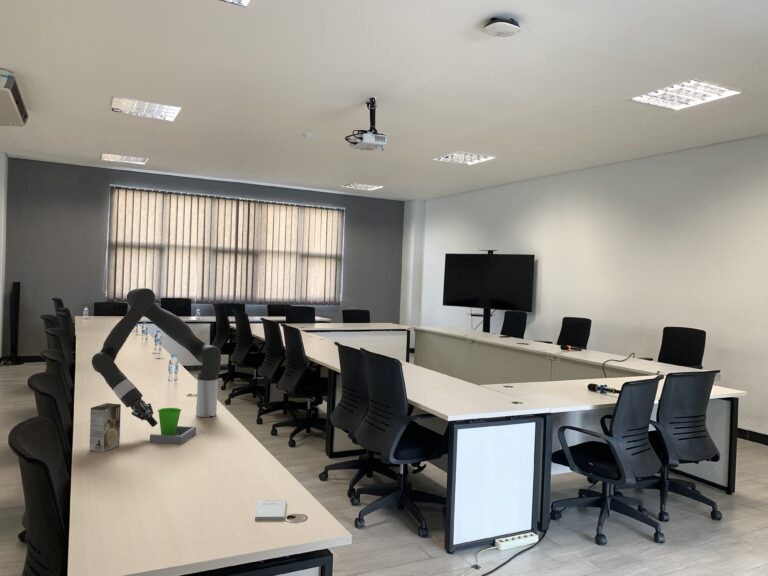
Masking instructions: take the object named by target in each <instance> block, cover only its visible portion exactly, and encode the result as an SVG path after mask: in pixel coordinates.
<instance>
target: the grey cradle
mask: <svg viewBox="0 0 768 576" xmlns="http://www.w3.org/2000/svg"><path fill="white" fill-rule="evenodd" d="M176 433H178V434H179V435H178V434H177V435H176V434H175V435H161V434H156V433H155V434H154V433H151V434H149V443H151V444H152V443H153V444H168V445H169V444H170V445H182V444H184V443H186V442H187V441H188V440H189V438H190V437H191V438H192V437H194V436H195V435H196V434H197V426H189V425H188V426H187V425H177V429H176ZM193 435H194V436H193ZM191 438H190V439H191Z"/></svg>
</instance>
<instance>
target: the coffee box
mask: <svg viewBox="0 0 768 576" xmlns="http://www.w3.org/2000/svg"><path fill="white" fill-rule="evenodd" d="M121 409H122V406H121V403H111V402H110V403H109V402H108V403H107V402H106V403H103V404H100V405H96V406H93V407H90V418H89V419H90V421H89V423H90V424H89V449H88V450H89V451H90V450H94V451H93V452H99V451H101V452H100V453H105V452H107V451H109V449H110V450H112V449H114V448H117V447H119V446H120V442H121V441H120V439H121V438H120V437H121ZM104 451H105V452H104Z"/></svg>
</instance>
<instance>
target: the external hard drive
mask: <svg viewBox="0 0 768 576" xmlns="http://www.w3.org/2000/svg"><path fill="white" fill-rule="evenodd" d="M256 506H257V508H256V510H255V515H254V521H285V519H286V513H287V512H286V511H287V500H286V499H259V500H258V502H257V505H256Z"/></svg>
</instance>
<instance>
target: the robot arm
mask: <svg viewBox="0 0 768 576" xmlns="http://www.w3.org/2000/svg"><path fill="white" fill-rule="evenodd" d="M155 301H156V294H155V292H154V291H153V290H152V289H150V288H149V287H139V288H135V289H134V288H133V289H132V290H130V291H129V292H128V293H127V294H126V303H127V305H128V306H129V307H130V308H129V310H128V311H127V312H126V313H125V315H124V316H123V317H122V318H121V319H120V320H119V321H118V323H116V324H115V325H114V327H113V328H112V329H111V330H110V332H109V333H108V335H107V336H106V339H105V340H104V342H103V344H102V348H101V349H100V351H99V352H97V353H95V354H94V355H93V356H92V358H91V366H92V368H93V370H94V371H95V372H97V373H98V374H100V375H101V376H102V377H103V379H104V380H105V382H106V384H107V385H108V386H109V388H111V390H112V391H113V393H114V394H115V396H116V397H117V398H118V399H119V400H120V401H121V403H122V404H123V405H124V406H125V407H126V408H130V409H131V410H132V411H131V412H130V413H131V415H132V416H133V417H135V418H137V419H139V420H141V421H146V422H147V423H148V424H149V425H150V426H151V428H154V427H155V426H156V425H158V423H159V422H158V421H157V420H156V419H155V418H154V416H153V415H154V410H153V407H152V404H151V403H150V402H149V403H146V402H145V400H143V399H142V398H143V394H142V393H141V391H140V390H139V389H138V388H137V386H135V385H134V383H133V382H132V381H131V380H130V379H128V377H127V376H126V375H125V373H123V372H122V371H121V369H120V368H119V367H118V365H117V364H116V362H115V361H116V359H117V356H118V354H119V352H120V351H121V349H122V347H124V345H125V343H126V341H127V339H128V338H129V336H130V335H131V333H132V331H134V329H135V328H136V326H137V325H138V323H140V321H141V320H142V318H143V317H145V318H147V319H148V320H149V321H150V322H151V323H153V325H155V326H156V327H157V328H158V329H160V330H161V331H162V332H163V333H164V334H165V335H166V336H168V337H169V338H170V339H172V340H173V341H175V342H176V343H177V344H178V345H180V346H182V347H183V348H184V349H186V350H187V351H188V352H189V353H190V354H191V355H192V356H193V357H194V359H196V361H198V362H199V363H200V364H201V365H202V366H201V371H200V372H198V374H197V382H196V383H197V387H196V390H197V391H196V406H195V407H196V409H195V411H196V412H195V416H196V417H200V418H211V417H210V416H213V417H216V416H217V411H218V410H217V409H218V408H217V407H218V406H217V405H218V386H219V385H218V384H219V383H218V382H219V375H220V372H221V365H222V353H221V350H220V348H219V347H217V346H215V345H210V344H208V343H206V342H204V341H203V340H201V339H200V338H198V337H197V336H196V334H195V333H194V332H193V330H192V329H191V327H190V326H189V325H188V324H187V323H186V322H185V321H184V320H183V319H182V318H180V317H179V316H178V315H176V314H174V313H172V312H171V311H169V310H167V309H164V308H162V307H160V306H159V305H157V303H155ZM215 415H216V416H215Z"/></svg>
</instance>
